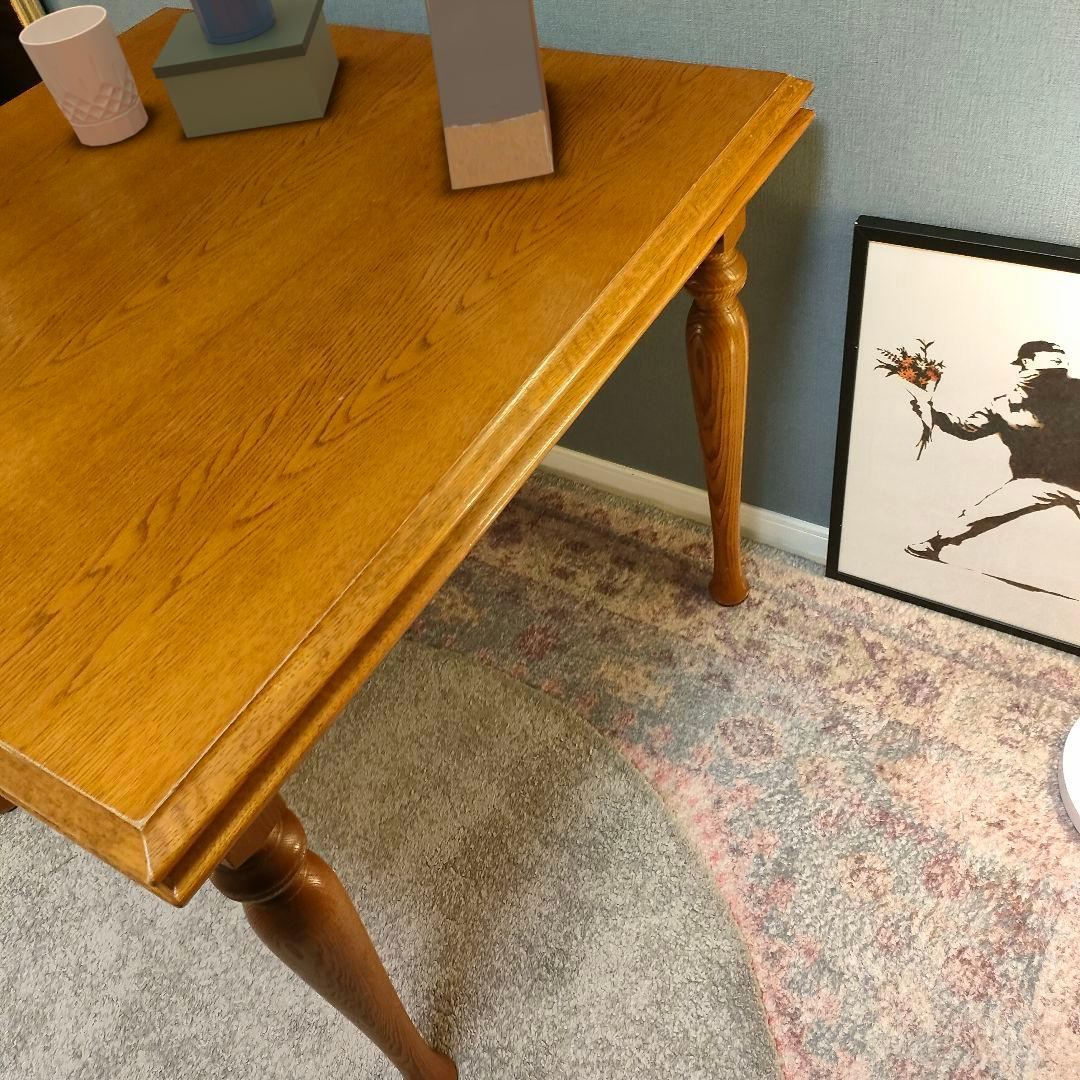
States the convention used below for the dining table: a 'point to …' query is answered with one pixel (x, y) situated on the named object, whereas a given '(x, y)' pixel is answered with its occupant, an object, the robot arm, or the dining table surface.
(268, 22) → the blue cup
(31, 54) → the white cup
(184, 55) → the storage box
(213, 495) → the dining table surface
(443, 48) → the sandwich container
